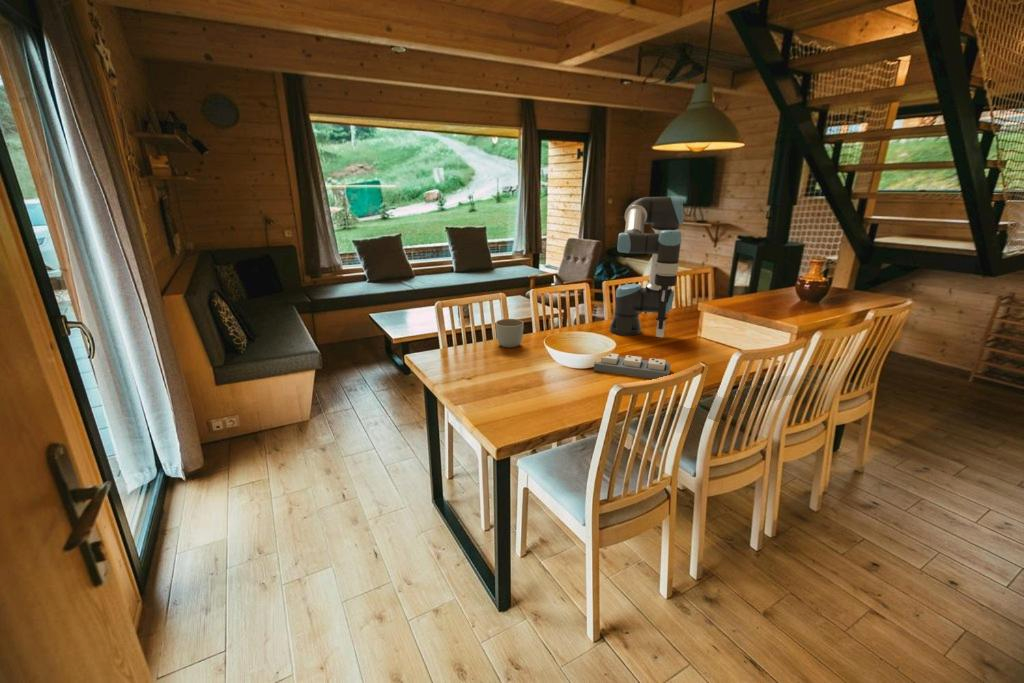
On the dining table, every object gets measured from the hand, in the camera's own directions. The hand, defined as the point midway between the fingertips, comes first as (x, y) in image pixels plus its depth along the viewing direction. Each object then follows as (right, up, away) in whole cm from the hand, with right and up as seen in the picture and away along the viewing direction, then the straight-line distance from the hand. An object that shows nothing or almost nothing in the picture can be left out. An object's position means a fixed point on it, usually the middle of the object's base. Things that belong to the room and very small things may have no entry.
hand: (659, 336), depth 177 cm
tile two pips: (-8, -11, +7) cm, 16 cm away
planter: (-57, -4, +37) cm, 68 cm away
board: (-8, -13, +8) cm, 18 cm away
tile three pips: (0, -12, +4) cm, 13 cm away
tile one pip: (-17, -10, +10) cm, 22 cm away
